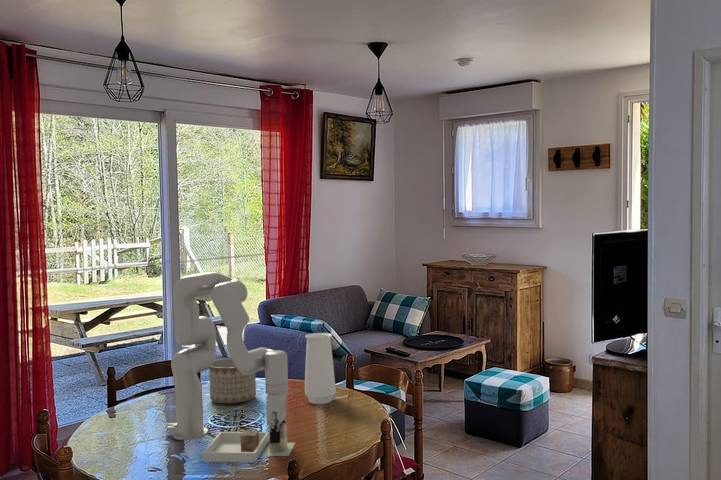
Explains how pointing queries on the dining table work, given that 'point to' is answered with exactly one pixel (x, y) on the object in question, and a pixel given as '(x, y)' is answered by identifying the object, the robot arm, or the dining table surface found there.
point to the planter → (230, 383)
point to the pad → (286, 453)
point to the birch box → (283, 439)
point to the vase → (319, 369)
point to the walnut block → (249, 440)
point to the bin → (232, 448)
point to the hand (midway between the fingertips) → (278, 437)
